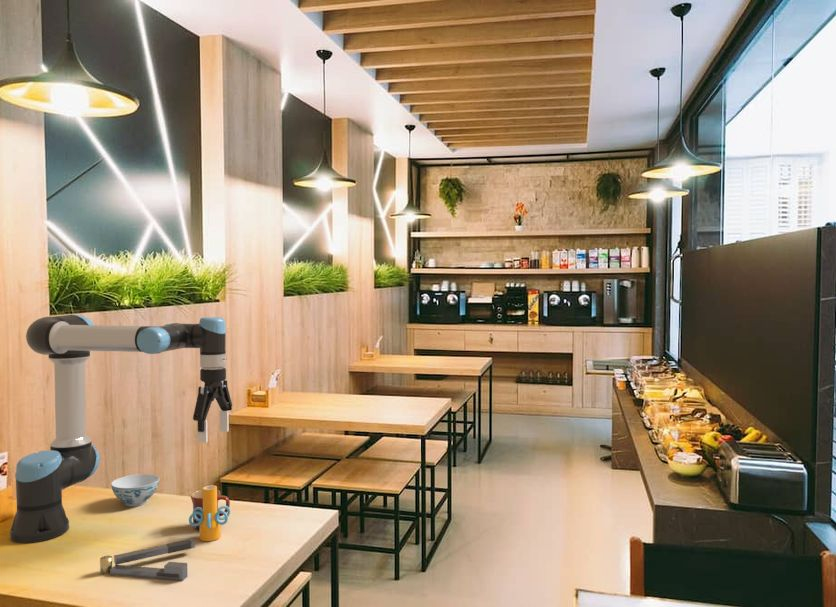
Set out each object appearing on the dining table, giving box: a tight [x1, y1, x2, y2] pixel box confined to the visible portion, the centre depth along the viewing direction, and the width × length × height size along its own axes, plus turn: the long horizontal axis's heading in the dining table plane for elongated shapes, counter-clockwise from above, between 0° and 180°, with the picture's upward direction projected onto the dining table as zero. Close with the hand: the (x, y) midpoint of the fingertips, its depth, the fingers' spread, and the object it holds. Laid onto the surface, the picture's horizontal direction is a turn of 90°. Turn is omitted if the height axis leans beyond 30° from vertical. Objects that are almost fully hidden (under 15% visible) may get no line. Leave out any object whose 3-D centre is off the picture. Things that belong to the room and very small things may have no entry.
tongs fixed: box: [99, 555, 188, 582], centre depth 161 cm, size 23×3×4 cm, turn 81°
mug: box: [189, 489, 231, 530], centre depth 194 cm, size 12×9×10 cm
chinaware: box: [110, 473, 160, 508], centre depth 214 cm, size 15×15×8 cm
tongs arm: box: [113, 538, 196, 566], centre depth 170 cm, size 20×3×2 cm, turn 123°
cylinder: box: [188, 484, 231, 542], centre depth 185 cm, size 12×10×15 cm
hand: (213, 436), depth 193 cm, fingers open, 13 cm apart
